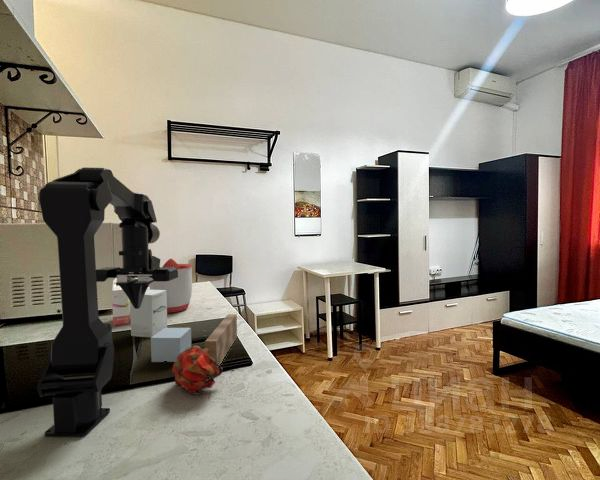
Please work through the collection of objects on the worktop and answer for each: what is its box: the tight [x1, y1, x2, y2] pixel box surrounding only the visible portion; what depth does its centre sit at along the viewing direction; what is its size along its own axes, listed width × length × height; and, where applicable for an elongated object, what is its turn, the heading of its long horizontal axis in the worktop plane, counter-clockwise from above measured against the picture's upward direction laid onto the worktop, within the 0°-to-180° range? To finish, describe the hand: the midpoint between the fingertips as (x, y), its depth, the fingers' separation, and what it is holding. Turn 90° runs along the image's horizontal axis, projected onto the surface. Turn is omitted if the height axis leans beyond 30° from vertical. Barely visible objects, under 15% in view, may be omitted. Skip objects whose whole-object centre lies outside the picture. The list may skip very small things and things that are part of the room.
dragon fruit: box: [171, 345, 224, 396], centre depth 61 cm, size 8×8×12 cm
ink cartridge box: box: [111, 278, 131, 326], centre depth 103 cm, size 9×5×15 cm, turn 25°
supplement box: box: [130, 289, 168, 338], centre depth 91 cm, size 7×7×13 cm
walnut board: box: [204, 313, 238, 368], centre depth 77 cm, size 20×2×7 cm, turn 179°
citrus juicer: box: [149, 258, 193, 314], centre depth 117 cm, size 16×17×20 cm
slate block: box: [150, 327, 192, 363], centre depth 75 cm, size 7×7×6 cm
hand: (137, 308), depth 75 cm, fingers closed
